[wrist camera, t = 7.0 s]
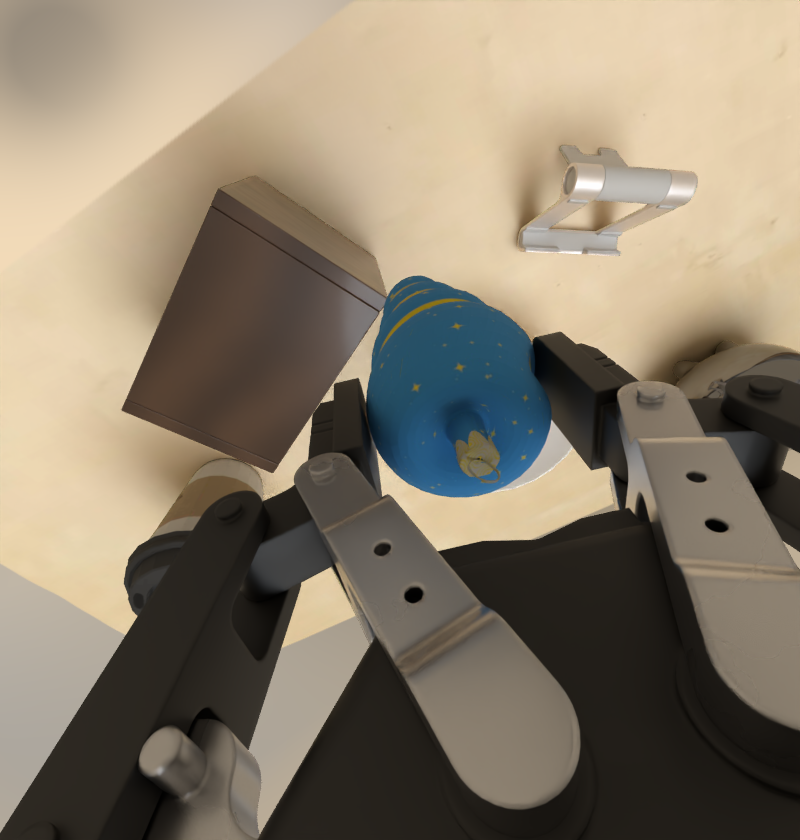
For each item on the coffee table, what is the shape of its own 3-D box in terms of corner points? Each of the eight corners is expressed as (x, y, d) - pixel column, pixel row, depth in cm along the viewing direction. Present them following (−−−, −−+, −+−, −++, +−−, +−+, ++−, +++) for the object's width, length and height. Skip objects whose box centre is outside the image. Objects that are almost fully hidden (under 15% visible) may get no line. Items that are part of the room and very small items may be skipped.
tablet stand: (515, 248, 39) (554, 271, 31) (535, 142, 34) (586, 141, 27) (606, 252, 40) (664, 276, 33) (636, 151, 36) (710, 152, 29)
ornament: (438, 349, 24) (551, 576, 11) (345, 329, 23) (351, 558, 10) (470, 252, 21) (662, 401, 9) (367, 224, 20) (413, 349, 7)
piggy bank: (625, 364, 46) (700, 422, 37) (770, 301, 44) (890, 345, 35) (638, 440, 52) (706, 508, 42) (766, 388, 50) (868, 446, 40)
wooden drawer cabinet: (176, 342, 39) (120, 410, 29) (254, 175, 33) (218, 188, 23) (288, 397, 44) (272, 473, 34) (375, 257, 38) (389, 299, 28)
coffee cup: (172, 434, 44) (106, 549, 32) (287, 449, 47) (268, 561, 34) (174, 516, 50) (118, 642, 37) (276, 525, 52) (256, 646, 40)
